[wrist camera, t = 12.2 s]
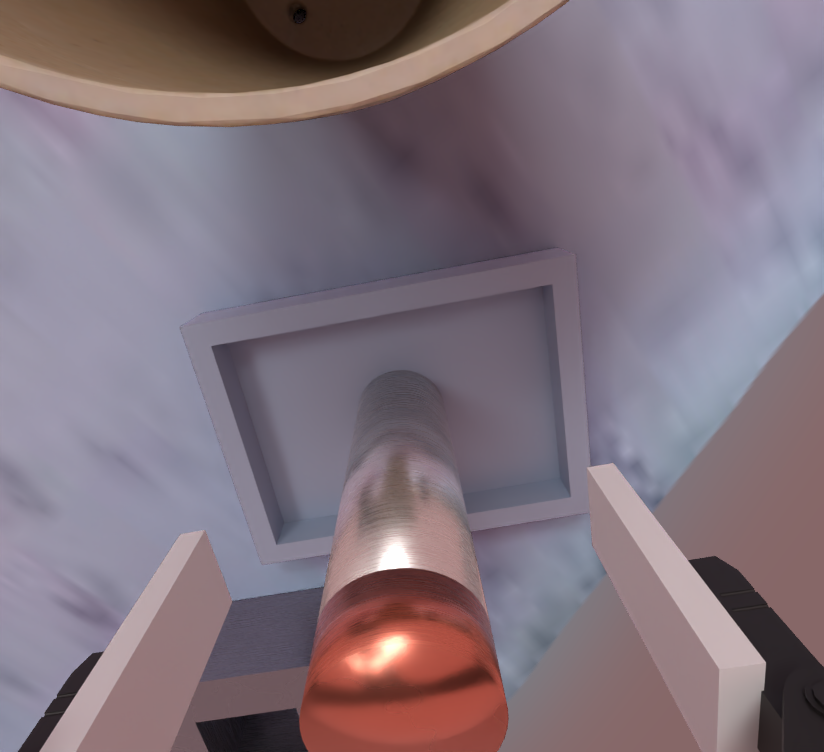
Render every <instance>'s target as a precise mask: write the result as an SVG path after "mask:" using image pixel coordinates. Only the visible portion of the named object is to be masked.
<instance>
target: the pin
mask: <svg viewBox="0 0 824 752" xmlns="http://www.w3.org/2000/svg"><path fill="white" fill-rule="evenodd" d="M299 724H300V732H301V736H302V740H303V742H304V744H305V746H306V749H307V750H308V752H497V751H498V749H499V748H500V746H501V744H502V742H503V740H504V738H505V735H506V731H507V727H508V708H507V703H506V698H505V693H504V689H503V684H502V679H501V674H500V669H499V665H498V660H497V655H496V650H495V645H494V641H493V636H492V631H491V626H490V622H489V617H488V612H487V607H486V602H485V598H484V593H483V588H482V583H481V578H480V574H479V569H478V564H477V559H476V554H475V550H474V545H473V540H472V535H471V531H470V526H469V521H468V516H467V511H466V507H465V502H464V497H463V492H462V487H461V483H460V478H459V473H458V468H457V464H456V459H455V454H454V449H453V444H452V440H451V435H450V430H449V425H448V420H447V416H446V411H445V406H444V402H443V398H442V395H441V393H440V391H439V389H438V388H437V387H436V385H435V384H434V383H433V382H432V381H431V380H429V379H428V378H427V377H425V376H423V375H421V374H419V373H417V372H413V371H408V370H396V371H390V372H387V373H384V374H382V375H380V376H378V377H377V378H375V379H374V380H372V381H371V382H370V383H369V384H368V386H367V387H366V388H365V390H364V391H363V393H362V395H361V398H360V402H359V406H358V412H357V417H356V422H355V427H354V433H353V438H352V443H351V448H350V453H349V459H348V464H347V469H346V474H345V480H344V485H343V490H342V495H341V501H340V506H339V511H338V516H337V522H336V527H335V532H334V537H333V542H332V548H331V553H330V558H329V563H328V569H327V574H326V579H325V584H324V590H323V595H322V600H321V605H320V610H319V616H318V621H317V626H316V631H315V637H314V642H313V647H312V652H311V658H310V663H309V668H308V673H307V679H306V684H305V689H304V694H303V699H302V705H301V710H300V719H299Z"/></svg>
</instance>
